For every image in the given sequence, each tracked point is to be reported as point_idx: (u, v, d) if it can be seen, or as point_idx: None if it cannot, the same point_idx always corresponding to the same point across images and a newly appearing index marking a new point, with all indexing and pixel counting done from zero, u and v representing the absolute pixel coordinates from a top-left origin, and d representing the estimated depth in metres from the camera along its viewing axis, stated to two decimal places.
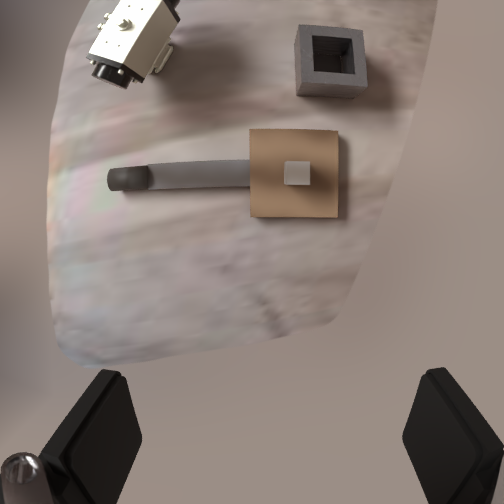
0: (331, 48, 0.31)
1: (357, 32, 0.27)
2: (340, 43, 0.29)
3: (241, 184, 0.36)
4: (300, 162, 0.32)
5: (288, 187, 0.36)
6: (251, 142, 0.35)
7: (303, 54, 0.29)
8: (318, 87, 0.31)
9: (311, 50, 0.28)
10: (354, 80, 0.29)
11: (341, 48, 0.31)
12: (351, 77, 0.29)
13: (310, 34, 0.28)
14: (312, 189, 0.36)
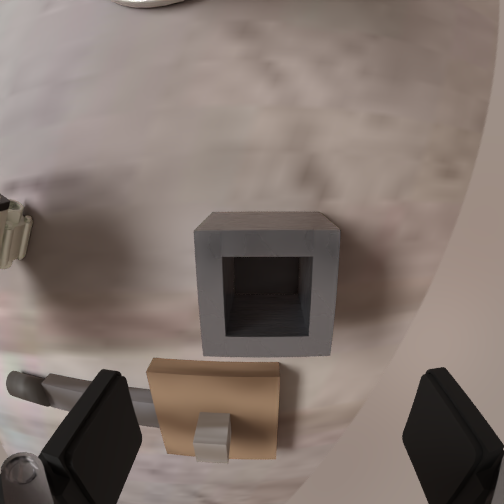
0: None
1: (327, 237, 0.15)
2: None
3: (149, 425, 0.24)
4: (212, 445, 0.20)
5: None
6: (152, 387, 0.23)
7: (204, 302, 0.16)
8: None
9: (220, 293, 0.16)
10: (305, 347, 0.17)
11: None
12: (300, 342, 0.17)
13: (218, 255, 0.16)
14: (241, 437, 0.24)
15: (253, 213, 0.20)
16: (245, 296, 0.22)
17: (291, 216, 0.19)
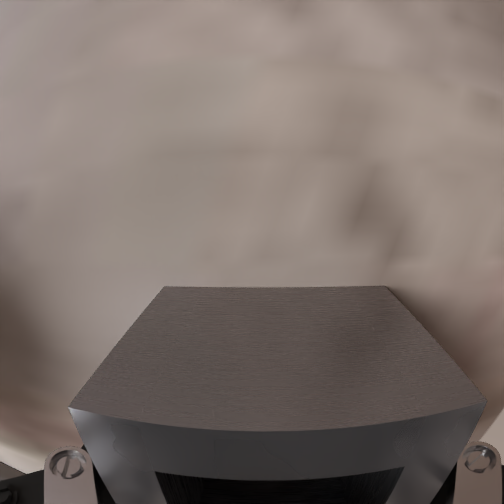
0: None
1: (453, 424, 0.04)
2: None
3: None
4: None
5: None
6: None
7: None
8: None
9: None
10: None
11: None
12: None
13: (146, 468, 0.04)
14: None
15: (248, 297, 0.09)
16: None
17: (336, 313, 0.08)
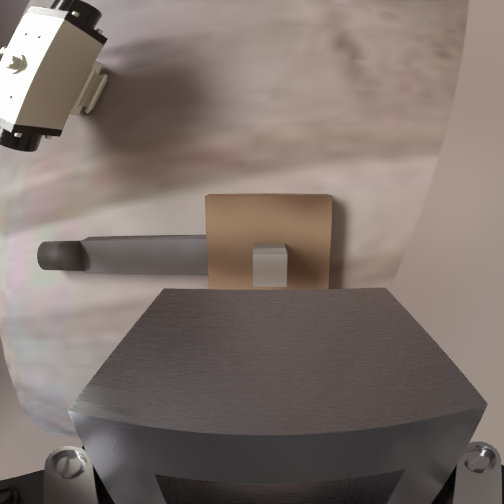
0: None
1: (453, 427, 0.04)
2: None
3: (197, 272, 0.27)
4: (273, 256, 0.23)
5: None
6: (208, 215, 0.26)
7: None
8: None
9: None
10: None
11: None
12: None
13: (146, 471, 0.04)
14: (293, 279, 0.27)
15: (248, 299, 0.09)
16: None
17: (336, 316, 0.08)
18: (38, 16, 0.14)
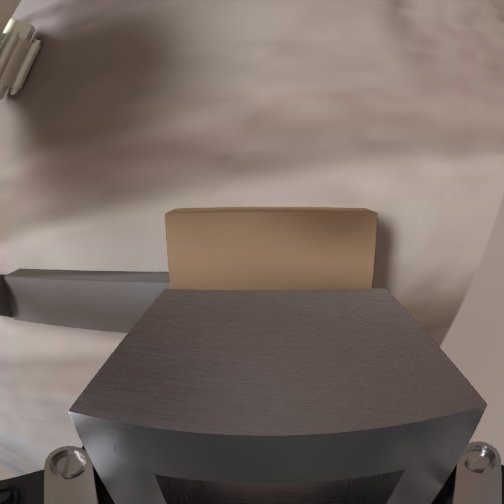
0: None
1: (453, 428, 0.04)
2: None
3: None
4: None
5: None
6: (171, 245, 0.15)
7: None
8: None
9: None
10: None
11: None
12: None
13: (146, 471, 0.04)
14: None
15: (248, 299, 0.09)
16: None
17: (336, 316, 0.08)
18: None
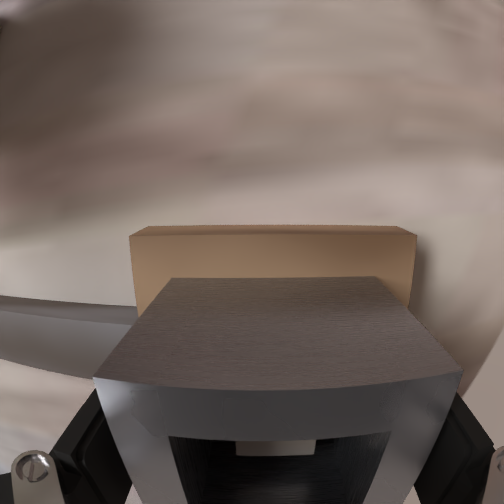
0: None
1: (433, 391, 0.05)
2: None
3: None
4: None
5: None
6: (138, 279, 0.11)
7: (147, 491, 0.06)
8: None
9: (177, 486, 0.06)
10: None
11: None
12: None
13: (160, 432, 0.05)
14: None
15: (249, 285, 0.10)
16: None
17: (329, 298, 0.09)
18: None
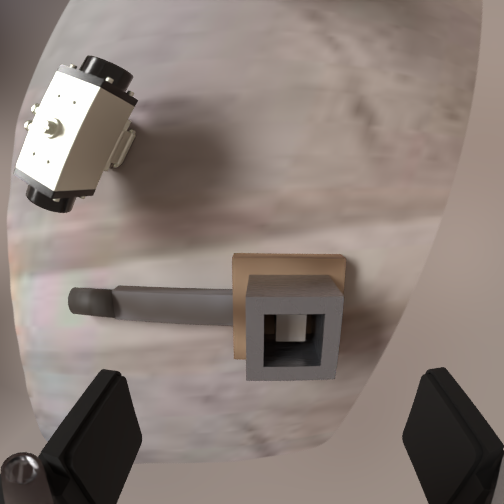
0: None
1: (335, 301, 0.23)
2: None
3: (222, 323, 0.30)
4: (294, 315, 0.26)
5: None
6: (234, 275, 0.29)
7: (250, 344, 0.23)
8: None
9: (261, 338, 0.23)
10: (318, 373, 0.24)
11: None
12: (314, 370, 0.24)
13: (262, 313, 0.23)
14: (308, 330, 0.29)
15: (280, 277, 0.28)
16: (272, 336, 0.29)
17: (308, 280, 0.27)
18: (71, 78, 0.17)
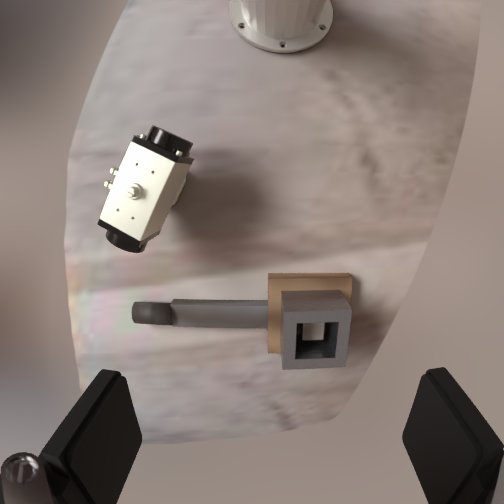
0: None
1: (346, 313, 0.32)
2: None
3: (260, 326, 0.39)
4: None
5: None
6: (270, 291, 0.38)
7: (286, 344, 0.33)
8: None
9: (294, 339, 0.33)
10: (333, 363, 0.33)
11: None
12: (330, 360, 0.33)
13: (295, 322, 0.32)
14: (324, 330, 0.39)
15: (304, 292, 0.37)
16: (297, 335, 0.39)
17: (326, 296, 0.36)
18: (147, 150, 0.26)
